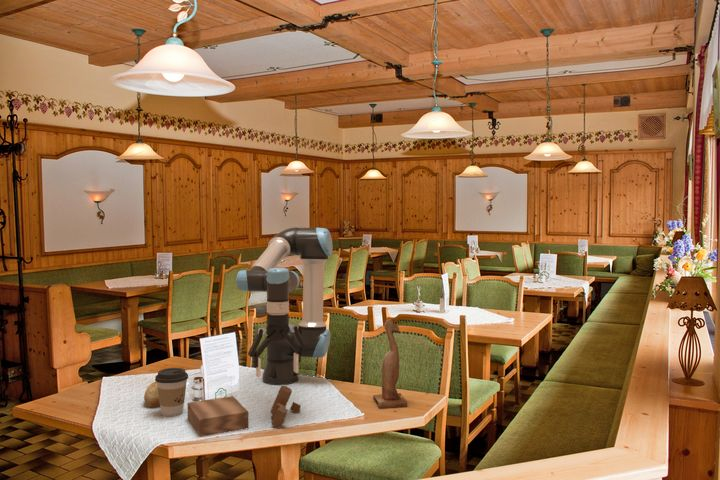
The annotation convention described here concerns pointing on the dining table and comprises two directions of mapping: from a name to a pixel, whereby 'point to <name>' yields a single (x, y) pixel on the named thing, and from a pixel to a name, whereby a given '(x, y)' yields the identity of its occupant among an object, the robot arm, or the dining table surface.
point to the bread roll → (152, 395)
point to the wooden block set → (282, 406)
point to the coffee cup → (171, 390)
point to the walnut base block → (217, 416)
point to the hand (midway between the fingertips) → (277, 374)
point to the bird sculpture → (390, 373)
